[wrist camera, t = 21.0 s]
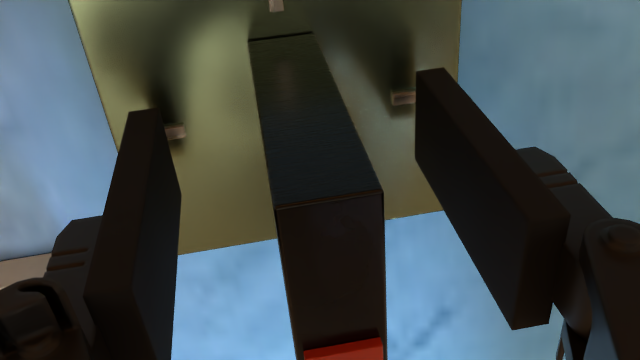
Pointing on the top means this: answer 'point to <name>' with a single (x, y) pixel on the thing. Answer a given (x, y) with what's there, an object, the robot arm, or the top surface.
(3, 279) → the hob
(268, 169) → the tall black monolith
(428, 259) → the top surface
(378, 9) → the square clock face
